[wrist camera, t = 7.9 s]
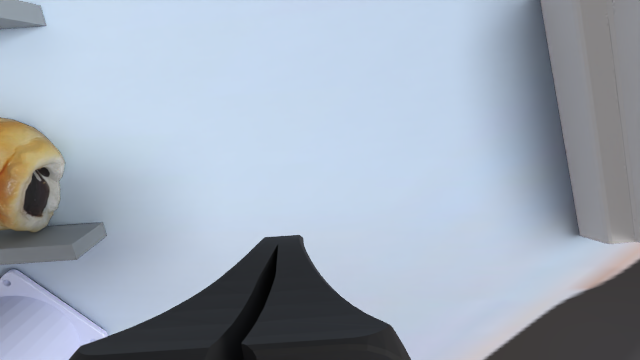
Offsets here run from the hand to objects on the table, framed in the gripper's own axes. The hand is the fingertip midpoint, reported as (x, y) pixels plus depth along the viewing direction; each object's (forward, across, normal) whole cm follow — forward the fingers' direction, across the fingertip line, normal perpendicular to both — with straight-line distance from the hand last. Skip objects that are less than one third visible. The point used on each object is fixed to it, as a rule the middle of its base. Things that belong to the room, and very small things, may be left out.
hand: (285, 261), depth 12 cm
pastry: (+11, +18, -2) cm, 22 cm away
